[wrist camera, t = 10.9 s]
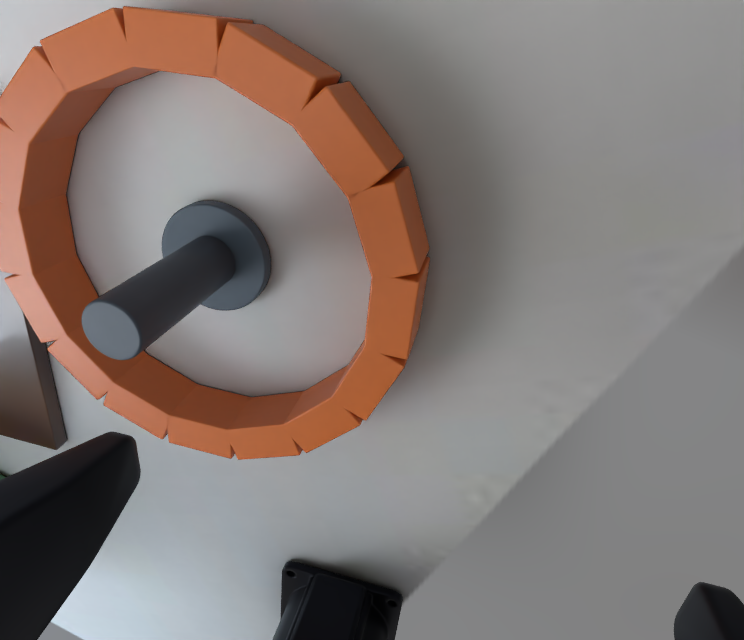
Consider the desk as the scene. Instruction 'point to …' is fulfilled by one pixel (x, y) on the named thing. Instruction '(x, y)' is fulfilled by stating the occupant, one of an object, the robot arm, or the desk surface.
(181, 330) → the desk surface
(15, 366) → the walnut stand
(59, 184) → the ring
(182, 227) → the slate stand
